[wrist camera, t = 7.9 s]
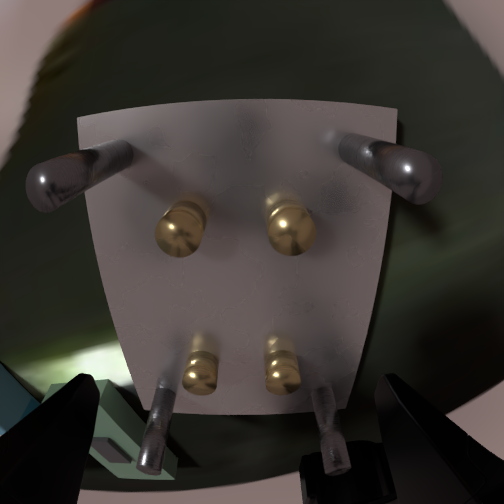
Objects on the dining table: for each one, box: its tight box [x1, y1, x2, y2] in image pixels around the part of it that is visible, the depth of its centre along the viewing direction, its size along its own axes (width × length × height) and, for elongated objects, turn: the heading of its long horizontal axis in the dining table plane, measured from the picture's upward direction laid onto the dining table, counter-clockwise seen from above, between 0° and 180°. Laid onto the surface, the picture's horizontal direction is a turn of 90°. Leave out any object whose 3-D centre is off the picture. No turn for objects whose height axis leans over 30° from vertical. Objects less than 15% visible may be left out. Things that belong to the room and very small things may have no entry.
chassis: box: [26, 99, 442, 476], centre depth 12 cm, size 12×16×6 cm
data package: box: [0, 363, 40, 436], centre depth 18 cm, size 12×4×12 cm
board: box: [42, 379, 178, 480], centre depth 18 cm, size 6×10×3 cm, turn 17°
